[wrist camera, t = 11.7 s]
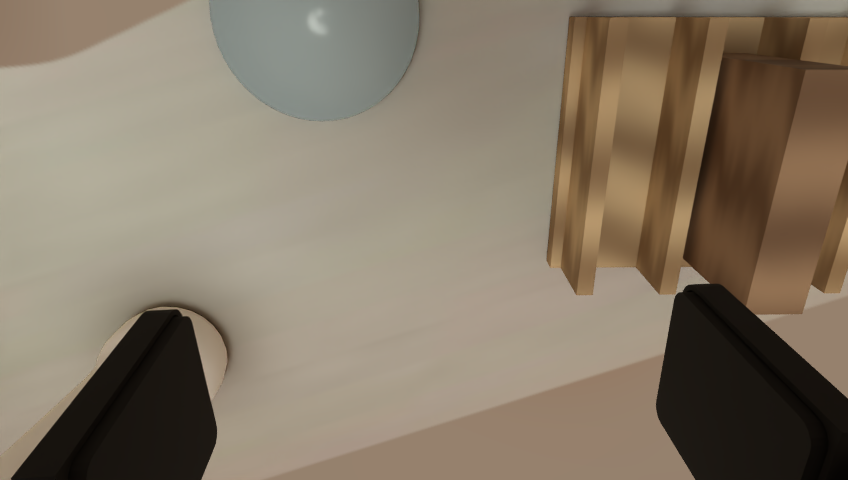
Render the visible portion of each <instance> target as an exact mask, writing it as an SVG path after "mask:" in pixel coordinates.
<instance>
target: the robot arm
mask: <svg viewBox="0 0 848 480" xmlns="http://www.w3.org/2000/svg"><path fill="white" fill-rule="evenodd" d="M656 410H657V415H658V418H659V420H660V422H661V424H662V426H663V427H664V429H665V431H666V432H667V434H668V436H669V437H670V439H671V440H672V442H673V444H674V445H675V447H676V449H677V450H678V452H679V454H680V455H681V457H682V459H683V460H684V462H685V463H686V465H687V467H688V468H689V470H690V471H691V473H692V475H693V476H694V478H695V480H848V398H846V397H845V396H844V395H843V394H842V393H841V392H840V391H839V390H837V388H835V387H834V386H833V385H832V384H831V383H830V382H829V381H828V380H827V379H825V378H824V377H823V376H822V375H821V374H820V373H819V372H818V371H817V370H816V369H814V368H813V367H812V366H811V365H810V364H809V363H808V362H807V361H806V360H805V359H803V358H802V357H801V356H800V355H799V354H798V353H797V352H796V351H794V350H793V349H792V348H791V347H790V346H789V345H788V344H787V343H786V342H785V341H784V340H782V339H781V338H780V337H779V336H778V335H777V334H775V332H774V331H772V330H771V329H770V328H769V327H768V326H767V325H766V324H765V323H764V322H762V321H761V320H760V319H759V318H758V317H757V316H756V315H755V314H754V313H753V312H751V311H750V310H749V309H748V308H747V307H746V306H745V305H744V304H743V303H741V302H740V301H739V300H738V299H737V298H736V297H735V296H734V295H733V294H732V293H730V292H729V291H728V290H727V289H726V288H725V287H724V286H722V285H721V284H717V283H715V284H694V285H687V286H686V287H685V288H684V290H683V292H680V293H678V294H677V295H676V296H675V299H674V304H673V310H672V315H671V321H670V327H669V332H668V338H667V344H666V349H665V355H664V361H663V366H662V372H661V378H660V384H659V389H658V395H657V401H656ZM216 439H217V426H216V421H215V417H214V412H213V408H212V404H211V400H210V395H209V391H208V387H207V383H206V378H205V374H204V370H203V366H202V361H201V357H200V353H199V349H198V344H197V340H196V336H195V332H194V327H193V323H192V320H191V319H190V317H188V316H182V314H181V312H180V311H179V310H177V309H169V310H148V311H145V312H143V313H142V314H141V316H140V317H139V318H138V319H137V321H136V322H135V323H134V324H133V326H132V327H131V328H130V329H129V331H128V332H127V333H126V334H125V336H124V337H123V338H122V339H121V341H120V342H119V343H118V344H117V346H116V347H115V348H114V349H113V351H112V352H111V353H110V354H109V356H108V357H107V358H106V359H105V361H104V362H103V363H102V365H101V366H100V367H99V368H98V370H97V371H96V372H95V373H94V375H93V376H92V377H91V378H90V380H89V381H88V382H87V383H86V385H85V386H84V387H83V388H82V390H81V391H80V392H79V393H78V395H77V396H76V397H75V398H74V400H73V401H72V402H71V403H70V405H69V406H68V407H67V408H66V410H65V411H64V412H63V413H62V415H61V416H60V417H59V418H58V420H57V421H56V422H55V423H54V425H53V426H52V427H51V428H50V430H49V431H48V432H47V433H46V435H45V436H44V437H43V439H42V440H41V441H40V442H39V444H38V445H37V446H36V447H35V449H34V450H33V451H32V452H31V454H30V455H29V456H28V457H27V459H26V460H25V461H24V462H23V464H22V465H21V466H20V467H19V469H18V470H17V471H16V472H15V474H14V475H13V476H12V477H11V480H201V479H202V476H203V474H204V472H205V469H206V467H207V464H208V462H209V459H210V457H211V454H212V452H213V449H214V447H215V444H216Z"/></svg>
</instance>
